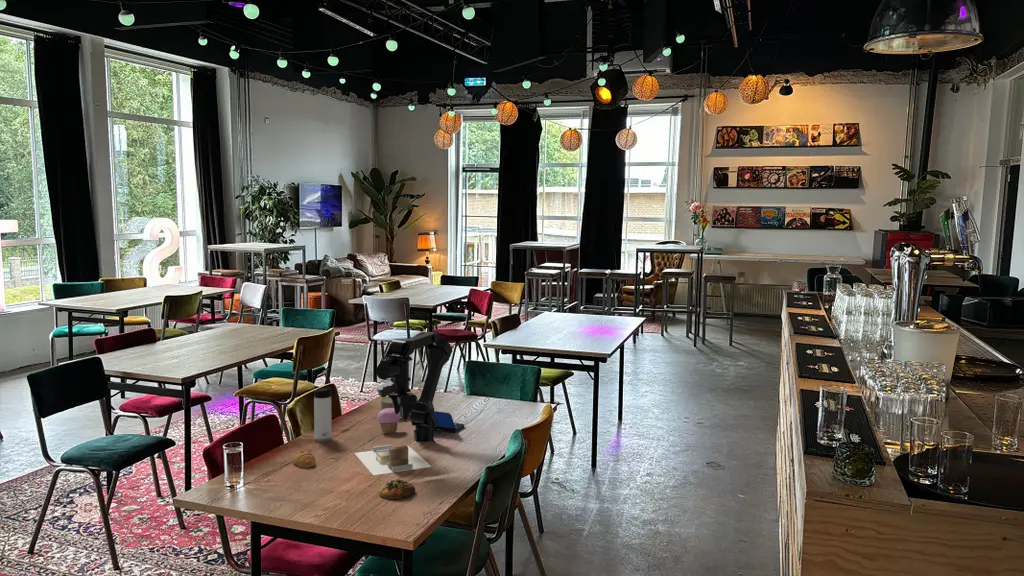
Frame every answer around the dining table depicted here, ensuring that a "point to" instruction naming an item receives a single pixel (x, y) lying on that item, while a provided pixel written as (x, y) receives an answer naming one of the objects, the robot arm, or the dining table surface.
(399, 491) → the bread roll
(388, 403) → the can
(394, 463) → the walnut panel
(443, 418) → the handheld game console
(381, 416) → the cupcake
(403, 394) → the robot arm
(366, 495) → the dining table surface
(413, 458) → the rack
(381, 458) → the offcut stack
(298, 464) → the pastry
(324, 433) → the travel mug
